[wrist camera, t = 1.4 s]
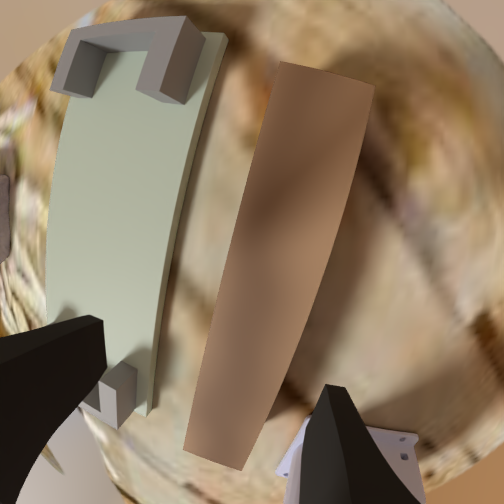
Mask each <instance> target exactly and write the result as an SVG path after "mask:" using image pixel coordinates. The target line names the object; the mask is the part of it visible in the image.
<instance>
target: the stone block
mask: <svg viewBox="0 0 504 504" xmlns="http://www.w3.org/2000/svg"><path fill="white" fill-rule="evenodd" d="M8 211H9V177H8V176H6V175H2V174H0V264H1V263H2V262H3V261H4V260H5V259H6V258H7V257H8V256H9V245H10V226H9V214H8Z"/></svg>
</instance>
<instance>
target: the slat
mask: <svg viewBox="0 0 504 504" xmlns="http://www.w3.org/2000/svg"><path fill="white" fill-rule="evenodd" d="M374 90H375V86H374V85H371V84H368V83H365V82H362V81H359V80H356V79H352V78H349V77H345V76H342V75H338V74H334V73H331V72H327V71H323V70H319V69H315V68H310V67H306V66H301V65H297V64H292V63H287V62H281V61H280V64H279V67H278V70H277V74H276V77H275V81H274V84H273V88H272V91H271V95H270V98H269V102H268V105H267V109H266V112H265V116H264V120H263V123H262V127H261V130H260V134H259V138H258V141H257V145H256V149H255V152H254V156H253V160H252V163H251V167H250V171H249V175H248V178H247V182H246V186H245V190H244V194H243V197H242V201H241V205H240V209H239V213H238V217H237V220H236V224H235V228H234V232H233V236H232V240H231V244H230V248H229V252H228V256H227V260H226V264H225V268H224V272H223V276H222V280H221V284H220V288H219V292H218V297H217V301H216V305H215V309H214V313H213V317H212V322H211V326H210V330H209V334H208V339H207V343H206V347H205V351H204V356H203V360H202V365H201V369H200V373H199V378H198V382H197V387H196V391H195V396H194V400H193V405H192V409H191V414H190V419H189V423H188V428H187V433H186V437H185V442H184V447H183V450H185V451H187V452H190V453H192V454H195V455H197V456H200V457H202V458H205V459H208V460H210V461H213V462H216V463H219V464H222V465H225V466H227V467H230V468H234V469H237V470H240V471H242V469H243V467H244V465H245V463H246V461H247V459H248V457H249V455H250V453H251V451H252V449H253V446H254V444H255V442H256V440H257V438H258V436H259V434H260V432H261V430H262V427H263V425H264V423H265V421H266V419H267V416H268V414H269V412H270V410H271V408H272V405H273V403H274V401H275V398H276V396H277V394H278V391H279V389H280V387H281V384H282V382H283V380H284V377H285V375H286V373H287V370H288V368H289V365H290V363H291V360H292V358H293V355H294V353H295V350H296V348H297V345H298V343H299V340H300V338H301V335H302V332H303V330H304V327H305V324H306V322H307V319H308V316H309V314H310V311H311V308H312V306H313V303H314V300H315V297H316V294H317V292H318V289H319V286H320V283H321V280H322V277H323V274H324V271H325V269H326V266H327V263H328V260H329V257H330V253H331V250H332V247H333V244H334V241H335V238H336V235H337V232H338V228H339V225H340V222H341V219H342V215H343V212H344V209H345V205H346V202H347V198H348V195H349V191H350V188H351V184H352V181H353V177H354V173H355V170H356V166H357V162H358V158H359V154H360V150H361V146H362V142H363V138H364V134H365V130H366V126H367V122H368V117H369V113H370V109H371V104H372V100H373V95H374Z"/></svg>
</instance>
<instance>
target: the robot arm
mask: <svg viewBox="0 0 504 504" xmlns="http://www.w3.org/2000/svg"><path fill="white" fill-rule="evenodd" d="M107 367H108V365H107V357H106V347H105V335H104V322H103V320H102V319H99V318H97V317H95V316H92V315H90V314H89V315H84V316H80V317H76V318H72V319H69V320H65V321H62V322H58V323H55V324H52V325H48V326H45V327H41V328H38V329H34V330H31V331H27V332H22V333H18V334H14V335H10V336H6V337H1V338H0V504H16V501H17V498H18V496H19V493H20V490H21V488H22V486H23V484H24V482H25V480H26V478H27V476H28V474H29V472H30V470H31V468H32V466H33V464H34V463H35V461H36V459H37V457H38V456H39V454H40V453H41V451H42V450H43V448H44V447H45V445H46V444H47V442H48V441H49V439H50V438H51V436H52V435H53V434H54V432H55V431H56V430H57V429H58V427H59V426H60V425H61V424H62V423H63V422H64V421H65V420H66V419H67V417H68V416H69V415H70V414H71V413H72V412H73V411H74V410H75V409H76V408H77V406H78V405H79V404H80V403H81V402H82V401H83V400H84V399H85V398H86V396H87V395H88V394H89V393H90V392H91V391H92V390H93V388H94V387H95V386H96V384H97V383H98V381H99V380H100V378H101V377H102V375H103V374H104V372H105V370H106V369H107ZM403 437H404V438H403ZM418 440H419V437H418V435H417V434H415V433H407V432H399V431H392V430H386V429H380V428H374V427H368V426H365V424H364V422H363V420H362V418H361V417H360V415H359V413H358V411H357V409H356V407H355V405H354V403H353V401H352V399H351V397H350V395H349V394H348V392H347V390H346V388H345V387H340V386H334V385H328V384H325V386H324V389H323V391H322V393H321V395H320V398H319V400H318V402H317V404H316V407H315V409H314V411H313V413H312V415H309V416H307V417H306V418H305V420H304V422H303V424H302V426H301V428H300V429H299V431H298V433H297V435H296V436H295V438H294V440H293V442H292V443H291V445H290V447H289V448H288V450H287V452H286V453H285V455H284V457H283V458H282V460H281V462H280V463H279V465H278V467H277V468H276V471H275V474H276V475H278V476H281V477H285V478H288V480H287V485H286V491H285V496H284V501H283V504H426V498H425V492H424V487H423V483H422V478H421V474H420V469H419V465H418V461H417V457H416V453H415V449H414V445H415V444H416V443H417V441H418Z"/></svg>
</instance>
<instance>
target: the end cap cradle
mask: <svg viewBox="0 0 504 504" xmlns="http://www.w3.org/2000/svg"><path fill="white" fill-rule="evenodd" d="M228 41H229V39H228V38H227V37H226V35H225V34H224V33H218V32H200V31H199V30H198V29H197V27H196V26H195V25H194V24H193V23H192V22H191V21H190V19H189V18H188V17H187V16H167V17H152V18H141V19H131V20H123V21H116V22H109V23H103V24H97V25H92V26H87V27H82V28H78V29H73V30H71V32H70V35H69V37H68V39H67V42H66V44H65V47H64V49H63V52H62V55H61V57H60V60H59V63H58V66H57V69H56V72H55V75H54V78H53V81H52V84H51V87H50V91H54V92H58V93H61V94H65V95H69V96H71V97H70V100H69V104H68V107H67V111H66V115H65V119H64V123H63V127H62V132H61V136H60V141H59V146H58V151H57V156H56V161H55V167H54V173H53V180H52V187H51V194H50V203H49V213H48V224H47V239H46V311H47V326H48V325H52V324H55V323H58V322H62V321H65V320H69V319H72V318H76V317H80V316H84V315H89V314H90V315H92V316H95V317H97V318H99V319H102V320H103V322H104V335H105V347H106V357H107V365H108V367H107V369H106V370H105V372H104V374H103V375H102V377H101V378H100V380H99V381H98V383H97V384H96V386H95V387H94V388H93V390H92V391H91V392H90V393H89V394H88V395H87V396H86V398H85V399H84V400H83V401H82V402H81V403H80V404H79V405H78V406H79V407H81V408H82V409H84V410H85V411H87V412H89V413H90V414H92V415H93V416H95V417H97V418H98V419H100V420H101V421H103V422H105V423H107V424H108V425H110V426H112V427H113V428H115V429H117V430H118V429H119V427H120V426H121V425H122V424H123V423H124V422H125V420H126V419H127V418H128V417H129V416H130V415H131V413H132V412H133V411H135V412H136V413H138V414H140V415H142V416H144V417H147V416H148V414H149V413H150V412H151V410H152V399H153V388H154V378H155V369H156V360H157V352H158V344H159V336H160V329H161V322H162V315H163V308H164V302H165V296H166V289H167V283H168V278H169V272H170V266H171V261H172V255H173V250H174V245H175V240H176V235H177V230H178V225H179V220H180V215H181V211H182V206H183V201H184V197H185V192H186V188H187V184H188V180H189V175H190V171H191V167H192V163H193V159H194V155H195V151H196V147H197V143H198V140H199V136H200V132H201V128H202V125H203V121H204V118H205V114H206V111H207V107H208V104H209V100H210V97H211V94H212V90H213V87H214V84H215V80H216V77H217V74H218V71H219V68H220V65H221V62H222V58H223V55H224V52H225V49H226V47H227V44H228Z"/></svg>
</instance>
